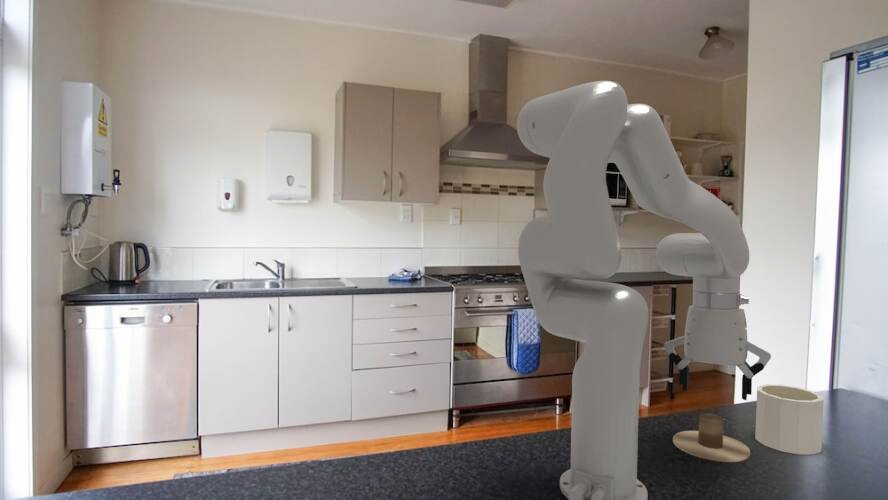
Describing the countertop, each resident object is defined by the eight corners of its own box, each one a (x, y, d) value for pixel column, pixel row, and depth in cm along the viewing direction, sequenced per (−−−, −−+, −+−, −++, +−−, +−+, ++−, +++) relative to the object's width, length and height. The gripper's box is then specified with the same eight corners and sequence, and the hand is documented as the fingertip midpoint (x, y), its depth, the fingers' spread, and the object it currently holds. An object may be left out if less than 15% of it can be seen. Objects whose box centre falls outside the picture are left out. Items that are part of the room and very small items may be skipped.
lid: (748, 470, 86) (750, 436, 86) (667, 452, 93) (668, 420, 92) (751, 444, 96) (752, 414, 96) (678, 429, 103) (679, 401, 103)
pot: (823, 459, 89) (825, 405, 89) (754, 445, 95) (756, 395, 95) (818, 439, 98) (820, 390, 98) (756, 428, 103) (757, 381, 103)
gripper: (771, 301, 92) (769, 395, 93) (667, 295, 101) (667, 380, 102) (772, 307, 86) (769, 408, 87) (661, 300, 95) (660, 391, 96)
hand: (714, 393), depth 95 cm, fingers open, 9 cm apart
